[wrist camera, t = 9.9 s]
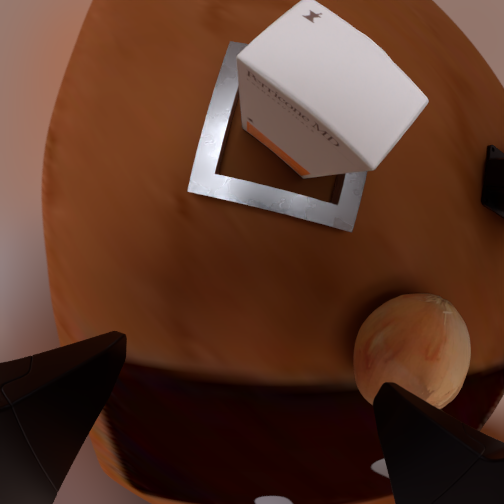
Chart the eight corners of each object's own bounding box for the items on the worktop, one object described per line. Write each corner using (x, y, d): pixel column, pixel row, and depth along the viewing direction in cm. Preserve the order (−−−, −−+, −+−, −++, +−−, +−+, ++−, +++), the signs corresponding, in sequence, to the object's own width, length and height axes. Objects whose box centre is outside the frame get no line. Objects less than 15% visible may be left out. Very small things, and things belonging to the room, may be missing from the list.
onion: (439, 275, 21) (514, 317, 12) (414, 366, 24) (463, 426, 14) (348, 274, 21) (411, 333, 11) (329, 376, 23) (361, 457, 14)
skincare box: (240, 129, 19) (228, 53, 7) (277, 89, 18) (307, -9, 6) (304, 182, 20) (375, 174, 8) (339, 141, 19) (434, 97, 7)
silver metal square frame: (372, 93, 18) (382, 85, 16) (342, 228, 20) (352, 232, 18) (231, 53, 17) (230, 41, 15) (193, 191, 20) (187, 191, 18)
